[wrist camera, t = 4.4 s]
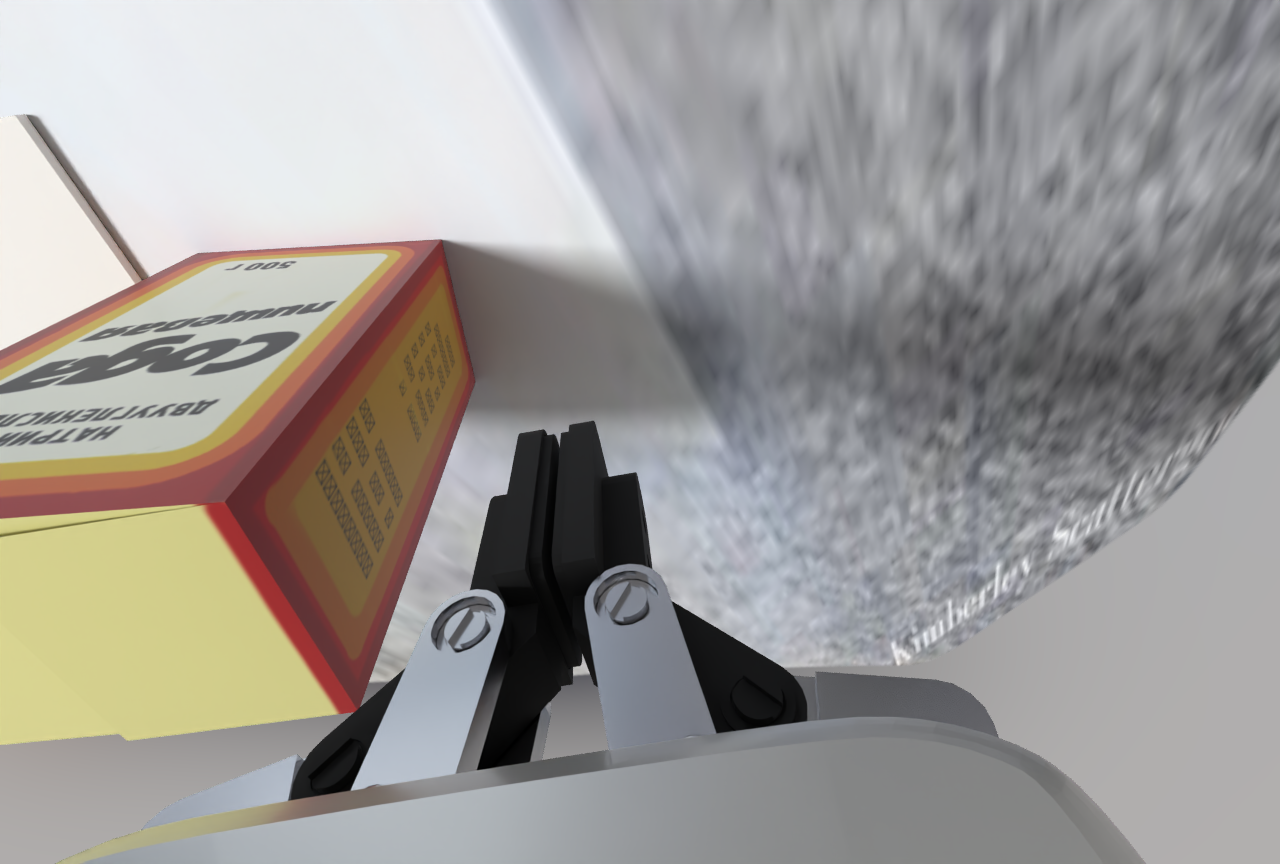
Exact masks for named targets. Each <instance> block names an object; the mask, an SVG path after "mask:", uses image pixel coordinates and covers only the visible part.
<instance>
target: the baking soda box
mask: <svg viewBox="0 0 1280 864" xmlns="http://www.w3.org/2000/svg"><path fill="white" fill-rule="evenodd" d="M474 384H475V377H474V373H473V369H472V365H471V361H470V357H469V352H468V348H467V344H466V340H465V336H464V332H463V327H462V323H461V319H460V315H459V311H458V307H457V302H456V298H455V294H454V290H453V286H452V282H451V277H450V273H449V269H448V265H447V261H446V257H445V252H444V248H443V244H442V240H424V241H406V242H389V243H371V244H353V245H335V246H318V247H300V248H282V249H265V250H247V251H229V252H211V253H197V254H195V255H193V256H191V257H189V258H187V259H185V260H183V261H181V262H179V263H177V264H175V265H173V266H171V267H169V268H167V269H165V270H163V271H161V272H159V273H157V274H155V275H153V276H151V277H148V278H146V279H144V280H142V281H140V282H138V283H136V284H134V285H132V286H130V287H128V288H126V289H124V290H122V291H120V292H118V293H116V294H114V295H112V296H110V297H108V298H106V299H104V300H102V301H100V302H98V303H96V304H94V305H92V306H90V307H88V308H86V309H84V310H82V311H79V312H77V313H75V314H73V315H71V316H69V317H67V318H65V319H63V320H61V321H59V322H57V323H55V324H53V325H51V326H49V327H47V328H45V329H43V330H41V331H39V332H37V333H35V334H33V335H31V336H29V337H27V338H25V339H23V340H21V341H19V342H17V343H15V344H13V345H10V346H8V347H6V348H4V349H2V350H0V745H4V744H15V743H25V742H36V741H47V740H58V739H69V738H79V737H90V736H100V735H111V734H120V735H121V736H123V737H124V738H125V739H126V740H127V741H129V740H137V739H145V738H153V737H161V736H169V735H176V734H184V733H192V732H200V731H209V730H216V729H224V728H232V727H239V726H248V725H256V724H263V723H272V722H280V721H288V720H296V719H303V718H311V717H319V716H327V715H335V714H343V713H351V712H355V711H356V710H358V709H359V708H360V705H361V702H362V699H363V697H364V694H365V691H366V688H367V685H368V683H369V680H370V677H371V674H372V671H373V669H374V666H375V663H376V660H377V657H378V654H379V652H380V649H381V646H382V643H383V640H384V638H385V635H386V632H387V629H388V626H389V624H390V621H391V618H392V615H393V612H394V609H395V607H396V604H397V601H398V598H399V595H400V593H401V590H402V587H403V584H404V581H405V579H406V576H407V573H408V570H409V567H410V564H411V562H412V559H413V556H414V553H415V550H416V548H417V545H418V542H419V539H420V536H421V534H422V531H423V528H424V525H425V522H426V519H427V517H428V514H429V511H430V508H431V505H432V503H433V500H434V497H435V494H436V491H437V489H438V486H439V483H440V480H441V477H442V474H443V472H444V469H445V466H446V463H447V460H448V458H449V455H450V452H451V449H452V446H453V443H454V441H455V438H456V435H457V432H458V429H459V427H460V424H461V421H462V418H463V415H464V413H465V410H466V407H467V404H468V401H469V398H470V396H471V393H472V390H473V387H474Z"/></svg>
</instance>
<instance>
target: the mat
mask: <svg viewBox="0 0 1280 864" xmlns="http://www.w3.org/2000/svg"><path fill="white" fill-rule="evenodd" d="M140 281H142V280H141V278H140V277H139V275H138V274H137V273H136V271H135V270H134V268H133V267H132V265H131V264H130V263H129V261H128V260H127V258H126V257H125V256H124V254H123V253H122V251H121V250H120V248H119V247H118V246H117V244H116V243H115V241H114V240H113V238H112V237H111V236H110V234H109V233H108V231H107V230H106V228H105V227H104V226H103V224H102V223H101V221H100V220H99V219H98V217H97V216H96V214H95V213H94V211H93V210H92V209H91V207H90V206H89V204H88V203H87V201H86V200H85V199H84V197H83V196H82V194H81V193H80V192H79V190H78V189H77V187H76V186H75V184H74V183H73V182H72V180H71V179H70V177H69V176H68V174H67V173H66V172H65V170H64V169H63V167H62V166H61V164H60V163H59V162H58V160H57V159H56V157H55V156H54V155H53V153H52V152H51V150H50V149H49V147H48V146H47V145H46V143H45V142H44V140H43V139H42V137H41V136H40V135H39V133H38V132H37V130H36V129H35V128H34V126H33V125H32V123H31V122H30V120H29V119H28V118H27V116H26V115H25V114H23V115H14V116H8V117H3V118H0V350H2V349H4V348H6V347H8V346H10V345H13V344H15V343H17V342H19V341H21V340H23V339H25V338H27V337H29V336H31V335H33V334H35V333H37V332H39V331H41V330H43V329H45V328H47V327H49V326H51V325H53V324H55V323H57V322H59V321H61V320H63V319H65V318H67V317H69V316H71V315H73V314H75V313H77V312H79V311H82V310H84V309H86V308H88V307H90V306H92V305H94V304H96V303H98V302H100V301H102V300H104V299H106V298H108V297H110V296H112V295H114V294H116V293H118V292H120V291H122V290H124V289H126V288H128V287H130V286H132V285H134V284H136V283H138V282H140Z"/></svg>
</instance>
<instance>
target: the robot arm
mask: <svg viewBox="0 0 1280 864" xmlns="http://www.w3.org/2000/svg"><path fill="white" fill-rule="evenodd" d="M582 654H583V656H584V659H585V662H586V664H587V667H588V669H589V672H590V675H591V677H592V680H593V683H594V685H596V686H597V687H598V689H599V695H600V700H601V706H602V712H603V717H604V724H605V729H606V735H607V741H608V747H609V750H605V751H599V752H593V753H586V754H579V755H573V756H566V757H560V758H554V759H548V760H542V757H543V752H544V748H545V743H546V738H547V732H548V727H549V723H550V717H551V705H550V701H551V700H552V699H553V698H554V697H555V696H556V694H557V693H558V692H559V691H560V690H561V686H564V685H571V684H572V683H573V667H576V666H581V663H582ZM56 864H1146V863H1145V862H1144V860H1143V859H1142V858H1141V857H1140V855H1139V854H1138V853H1137V851H1136V850H1135V849H1134V848H1133V846H1131V844H1130V843H1129V841H1128V840H1127V839H1126V838H1125V836H1124V835H1123V834H1122V833H1121V832H1120V830H1119V829H1118V828H1117V827H1116V826H1115V825H1114V823H1113V822H1112V821H1111V820H1110V819H1109V818H1108V816H1107V815H1106V814H1105V813H1104V812H1103V811H1102V809H1101V808H1100V807H1099V806H1098V805H1097V804H1096V803H1095V802H1094V801H1093V800H1092V799H1091V798H1090V797H1089V796H1088V795H1087V794H1086V793H1085V792H1084V791H1083V790H1082V789H1081V788H1080V787H1079V786H1078V785H1077V784H1076V783H1075V782H1074V781H1073V780H1072V779H1071V778H1069V777H1068V776H1067V775H1066V774H1064V773H1063V772H1062V771H1060V770H1059V769H1058V768H1057V767H1056V766H1054V765H1053V764H1051V763H1050V762H1048V761H1047V760H1045V759H1043V758H1042V757H1040V756H1039V755H1037V754H1035V753H1033V752H1031V751H1028V750H1026V749H1024V748H1022V747H1020V746H1018V745H1016V744H1013V743H1011V742H1008V741H1005V740H1003V739H1000V738H999V737H998V734H997V731H996V729H995V726H994V723H993V721H992V719H991V718H990V716H989V714H988V713H987V710H986V709H985V707H984V706H983V705H982V704H981V703H980V702H979V701H978V700H977V699H976V698H975V697H974V696H973V695H972V694H971V693H969V692H967V691H965V690H964V689H962V688H960V687H958V686H956V685H954V684H952V683H948V682H943V681H939V680H932V679H916V678H902V677H887V676H871V675H857V674H843V673H828V672H815V677H803V676H793V675H791V674H790V673H789V672H787V671H786V670H785V669H784V668H783V667H781V666H780V665H778V664H776V663H775V662H773V661H771V660H770V659H768V658H766V657H765V656H763V655H761V654H760V653H758V652H756V651H755V650H753V649H751V648H750V647H748V646H746V645H745V644H743V643H741V642H740V641H738V640H736V639H734V638H733V637H731V636H729V635H728V634H726V633H724V632H723V631H721V630H719V629H718V628H716V627H714V626H713V625H711V624H709V623H708V622H706V621H704V620H703V619H701V618H699V617H698V616H696V615H694V614H693V613H691V612H689V611H688V610H686V609H684V608H683V607H681V606H679V605H677V604H676V603H674V602H672V601H671V599H670V596H669V593H668V590H667V587H666V584H665V583H664V581H663V579H662V577H661V576H660V575H659V574H658V573H657V572H655V571H654V570H653V569H652V562H651V554H650V546H649V538H648V530H647V523H646V517H645V511H644V505H643V500H642V495H641V490H640V485H639V481H638V476H637V473H636V472H635V473H629V474H624V475H618V476H612V477H609V476H608V472H607V468H606V464H605V460H604V456H603V452H602V448H601V444H600V440H599V436H598V432H597V428H596V424H595V422H594V421H589V422H584V423H578V424H572V425H570V426H569V432H564V433H561V440H560V447H559V444H558V441H557V438H556V436H555V434H552V435H547V433H546V431H545V430H544V429H543V430H538V431H532V432H526V433H520V434H519V436H518V440H517V445H516V451H515V456H514V461H513V466H512V472H511V477H510V482H509V487H508V492H507V494H506V495H500V496H494V497H493V498H492V499H491V501H490V504H489V508H488V513H487V517H486V522H485V526H484V531H483V535H482V539H481V544H480V548H479V553H478V557H477V561H476V566H475V570H474V575H473V579H472V584H471V588H470V590H469V591H464V592H462V593H459V594H457V595H455V596H452V597H451V598H449V599H448V600H447V601H445V602H444V603H442V604H441V605H440V606H439V607H438V608H437V609H436V610H435V611H434V612H433V613H432V614H431V616H430V618H429V619H428V621H427V622H426V624H425V626H424V628H423V630H422V633H421V635H420V637H419V639H418V642H417V644H416V646H415V648H414V651H413V653H412V655H411V657H410V659H409V662H408V664H407V666H406V668H405V669H404V670H403V671H401V672H400V673H399V674H398V675H397V676H396V677H395V678H393V679H392V680H391V681H390V682H389V683H388V684H386V685H385V686H384V687H383V688H382V689H381V690H380V691H378V692H377V693H376V694H375V695H374V696H373V697H371V698H370V699H369V700H368V701H367V702H366V703H365V704H363V705H362V706H361V707H360V708H359V709H358V710H356V711H355V712H354V713H353V714H352V715H351V716H349V717H348V718H347V719H346V720H345V721H344V722H343V723H341V724H340V725H339V726H338V727H337V728H336V729H335V730H333V731H332V732H331V733H330V734H329V735H328V736H326V737H325V738H324V739H323V740H322V741H321V742H320V743H319V744H318V745H317V746H316V747H315V748H314V749H313V750H312V752H310V753H309V755H308V756H307V757H306V758H304V759H302V758H301V757H300V756H299V755H294V756H291V757H289V758H286V759H284V760H281V761H278V762H276V763H273V764H271V765H268V766H266V767H263V768H260V769H258V770H255V771H253V772H250V773H248V774H245V775H242V776H240V777H237V778H234V779H232V780H229V781H227V782H224V783H222V784H219V785H217V786H214V787H211V788H209V789H206V790H203V791H201V792H198V793H196V794H193V795H191V796H188V797H185V798H183V799H181V800H179V801H177V802H175V803H173V804H171V805H170V806H168V807H166V808H164V809H163V810H162V811H161V812H159V813H158V814H157V815H156V816H155V817H153V818H152V819H151V820H150V821H149V822H147V824H146V825H145V826H144V827H143V828H142V829H141V831H138V832H135V833H131V834H128V835H125V836H122V837H119V838H115V839H112V840H110V841H107V842H105V843H102V844H100V845H97V846H95V847H92V848H90V849H87V850H85V851H83V852H80V853H78V854H75V855H73V856H71V857H68V858H66V859H63V860H61V861H59V862H58V863H56Z"/></svg>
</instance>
